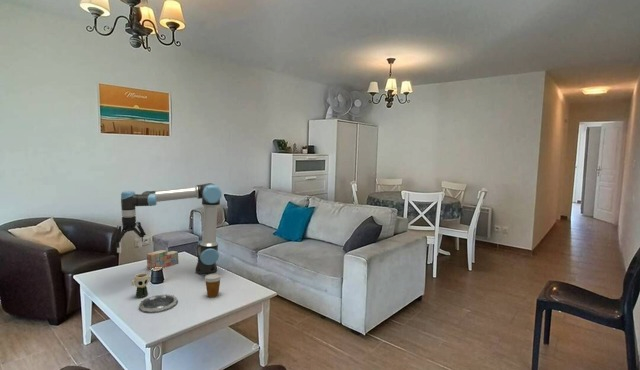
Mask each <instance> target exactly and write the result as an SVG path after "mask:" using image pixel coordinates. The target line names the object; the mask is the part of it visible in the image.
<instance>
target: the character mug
mask: <svg viewBox="0 0 640 370" xmlns="http://www.w3.org/2000/svg"><path fill="white" fill-rule="evenodd" d="M151 281H152V276H151V275H149V274H148V273H145V272H142V273H137V274H135V275H134V279H133V280H131V281H130V283H131V286H132V287H133V286H135V287H136V292H135V296H136V297H137V298H143V297H147V296H148V294H149V293H148V287H147V286H148V285H149V282H151Z"/></svg>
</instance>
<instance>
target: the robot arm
mask: <svg viewBox="0 0 640 370" xmlns="http://www.w3.org/2000/svg"><path fill="white" fill-rule="evenodd" d="M120 195H121V196H120V203H121V205H120V206H121V223H122V224H121V225H117V226H116V231H115V233H114V236H113V238H112V240H111V241H112V242H113V243H115V248H116V253H118V254H121V253H122V243H121V240H122V239H123V237H124V236H125V234H126V233H128V232H134V233H135V234H136V235H137V236H138V237H137V246H138V248H143V242H144V240H143V239H144V237H145V236H146V235H147V234H146V232H145V230H144V228H143V226H142V224H141V221H140V222H139V221H137V214H136V211H137V210H136V207H152V206H153V207H154V206H157V205H158V204H157V203H158V202H159V203H161V202H167V201H179V200H185V199H198V200H200V199H201V205H202V207H204V208H203V227H202V239H201V240H198V242H197V246H196V247H197V263H196V266H195V269H194V270H195V274H196V275H201V276H207V275H209V274H216V273H218V272H217V271H218V266H217V261H218V260H219V255H220V254H219V249H218V248H219V243H218V242H217V228H218V227H217V225H218V224H217V223H218V222H217V221H218V207H219V206H220V205H221V198H222V190H221V189H220V187H219V186H218V185H216V184H214V183H210V182H209V183H203V184H196V185H195V186H190V187H179V188H170V189H158V190H146V191H143V192H142V193H140V194H139V193H138V194H136V192H135V191H133V190H126V191H125V190H124V191H122V192H121V193H120ZM136 227H137V228H136Z"/></svg>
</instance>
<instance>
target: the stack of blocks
mask: <svg viewBox="0 0 640 370" xmlns="http://www.w3.org/2000/svg"><path fill="white" fill-rule="evenodd" d="M146 264H147V265H146V267H147V269H148V270H147V271H149V270H151V269H152V268H155V267H162V268H163V269H164V268H165V267H166V268H169V267H172V266H175V265H178V264H179V252H178V251H175V250H171V251H168V250H164V249H160V250H156V251H152V252H149V253H147V254H146Z"/></svg>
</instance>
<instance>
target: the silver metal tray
mask: <svg viewBox="0 0 640 370" xmlns="http://www.w3.org/2000/svg"><path fill="white" fill-rule="evenodd" d="M178 302H179V301H178V297H177V296H175V295H172V294H166V293H165V294H157V295H152V296H149V297H146V298H145V299H143V300H141V301H140V303H139V305H138V310H139V311H140V312H141V313H144V314H156V313H157V314H159V313H162V312H166V311H169V310H172V309H174V307H176V306H177V305H178Z"/></svg>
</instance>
